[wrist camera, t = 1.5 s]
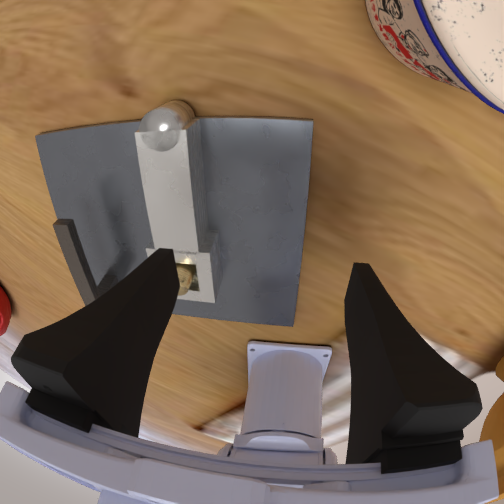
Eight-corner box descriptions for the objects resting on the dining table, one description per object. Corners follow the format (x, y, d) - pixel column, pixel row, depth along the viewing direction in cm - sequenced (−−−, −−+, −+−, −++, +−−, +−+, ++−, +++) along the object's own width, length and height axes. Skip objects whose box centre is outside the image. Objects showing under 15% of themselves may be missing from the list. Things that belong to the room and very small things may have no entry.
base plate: (293, 321, 27) (293, 326, 27) (91, 296, 30) (89, 300, 29) (312, 119, 17) (313, 121, 17) (39, 133, 19) (35, 135, 19)
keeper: (120, 286, 27) (102, 316, 24) (107, 284, 27) (89, 314, 24) (94, 198, 22) (67, 225, 19) (80, 198, 22) (52, 224, 19)
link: (222, 279, 25) (215, 303, 23) (168, 273, 25) (157, 296, 23) (210, 98, 17) (197, 107, 15) (141, 103, 17) (120, 112, 15)
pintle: (202, 263, 24) (189, 296, 21) (182, 261, 24) (167, 294, 21) (200, 245, 23) (186, 278, 20) (179, 244, 23) (163, 276, 20)
